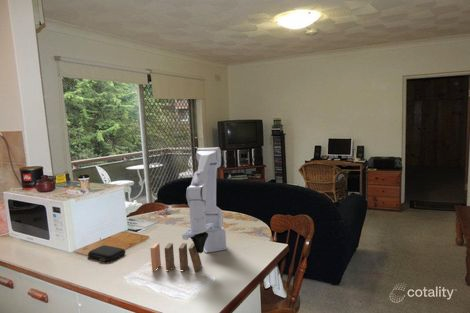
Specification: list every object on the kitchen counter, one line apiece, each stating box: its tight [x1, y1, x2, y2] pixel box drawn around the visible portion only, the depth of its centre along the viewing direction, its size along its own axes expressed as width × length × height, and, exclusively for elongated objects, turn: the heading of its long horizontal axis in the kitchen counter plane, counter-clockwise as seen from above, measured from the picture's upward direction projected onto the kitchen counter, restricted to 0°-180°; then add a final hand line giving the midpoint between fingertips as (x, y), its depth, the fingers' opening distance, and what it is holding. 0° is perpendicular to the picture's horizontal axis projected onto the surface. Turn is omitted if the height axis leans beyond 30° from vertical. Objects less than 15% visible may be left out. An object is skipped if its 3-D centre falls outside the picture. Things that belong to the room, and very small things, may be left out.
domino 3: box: [188, 242, 203, 272], centre depth 123 cm, size 2×5×9 cm, turn 173°
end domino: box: [150, 242, 162, 271], centre depth 125 cm, size 2×5×9 cm, turn 172°
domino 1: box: [164, 242, 175, 271], centre depth 124 cm, size 2×5×9 cm, turn 173°
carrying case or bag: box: [87, 244, 126, 263], centre depth 139 cm, size 11×3×15 cm
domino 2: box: [178, 242, 189, 272], centre depth 124 cm, size 2×5×9 cm, turn 173°
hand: (200, 252), depth 123 cm, fingers closed
